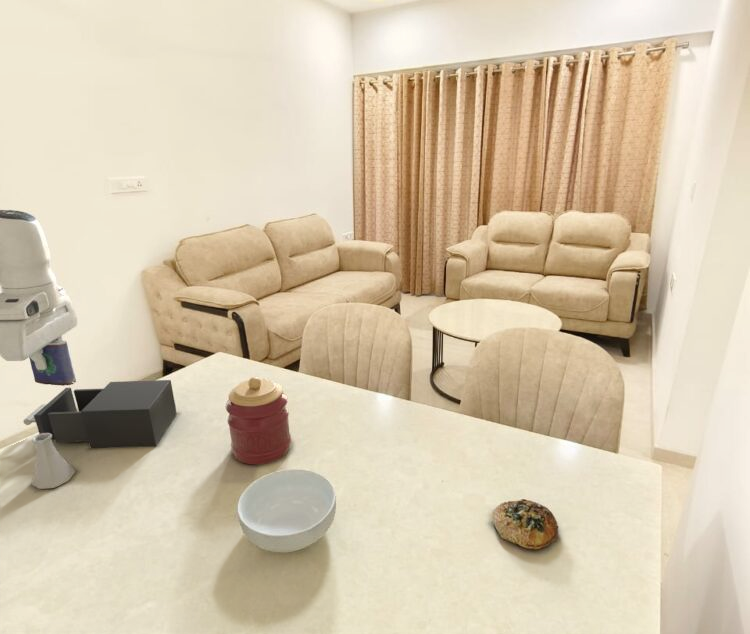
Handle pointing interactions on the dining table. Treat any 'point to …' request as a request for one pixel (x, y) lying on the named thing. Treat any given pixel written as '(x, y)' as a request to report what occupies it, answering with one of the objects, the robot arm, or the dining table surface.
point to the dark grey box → (129, 414)
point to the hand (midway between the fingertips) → (50, 363)
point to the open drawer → (64, 415)
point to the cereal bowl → (287, 510)
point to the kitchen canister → (258, 421)
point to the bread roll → (525, 523)
